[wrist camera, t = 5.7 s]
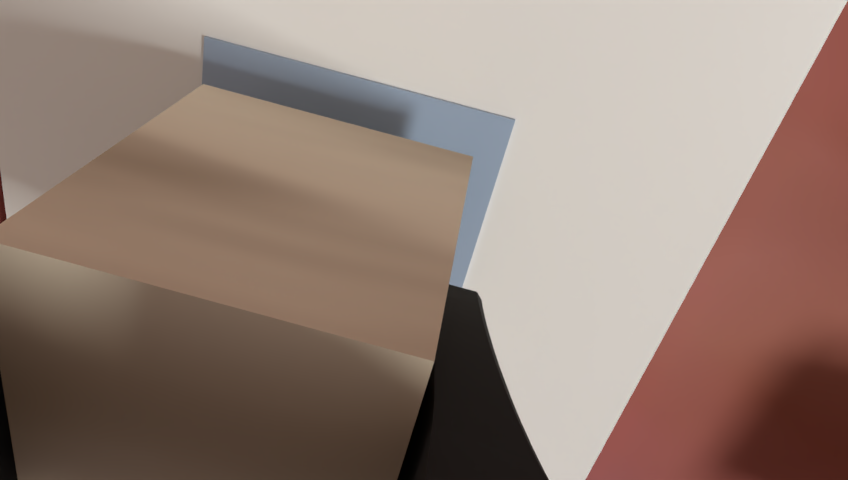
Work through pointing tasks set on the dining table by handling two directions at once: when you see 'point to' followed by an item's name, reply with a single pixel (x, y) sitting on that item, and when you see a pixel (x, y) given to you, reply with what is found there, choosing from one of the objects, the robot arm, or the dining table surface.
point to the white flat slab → (470, 143)
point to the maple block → (229, 299)
